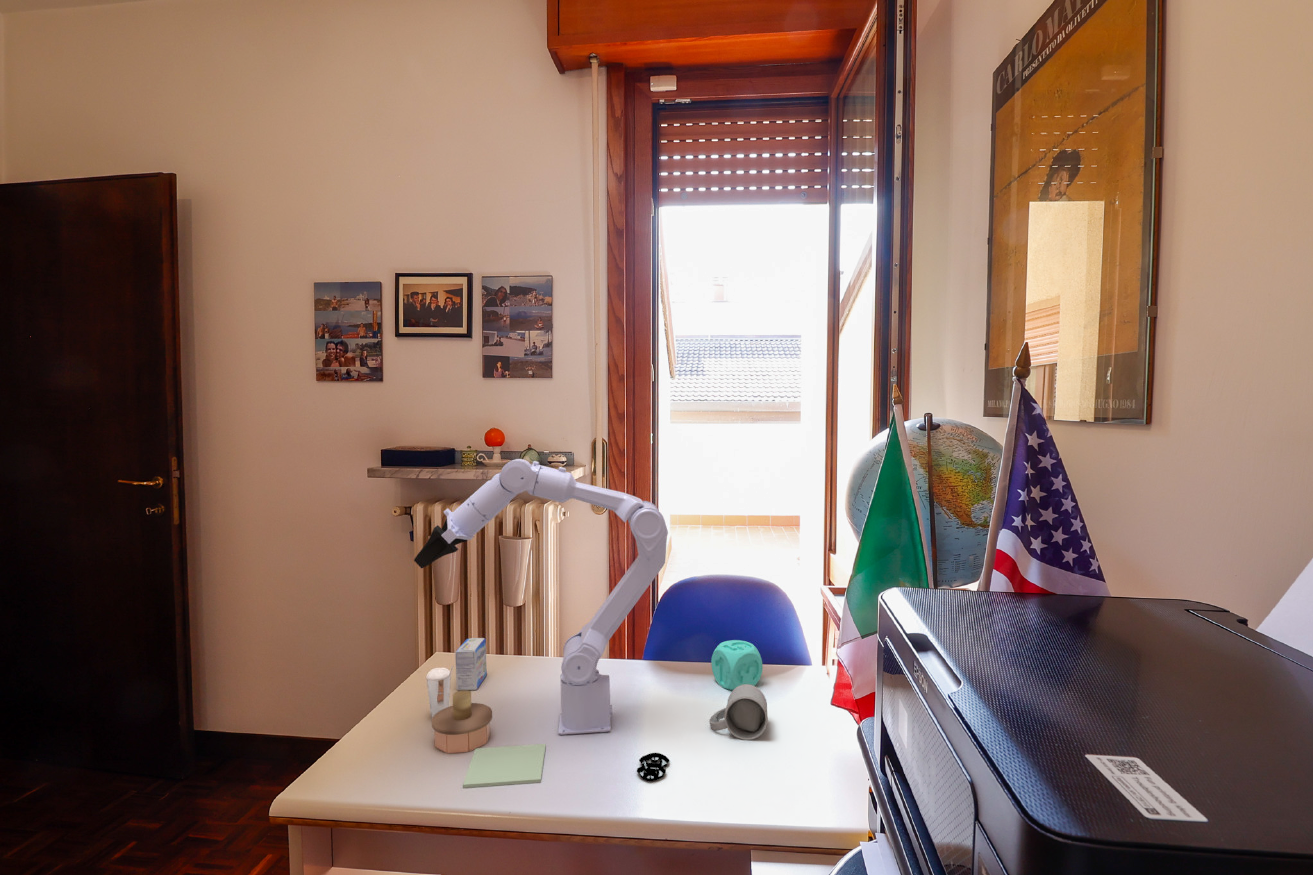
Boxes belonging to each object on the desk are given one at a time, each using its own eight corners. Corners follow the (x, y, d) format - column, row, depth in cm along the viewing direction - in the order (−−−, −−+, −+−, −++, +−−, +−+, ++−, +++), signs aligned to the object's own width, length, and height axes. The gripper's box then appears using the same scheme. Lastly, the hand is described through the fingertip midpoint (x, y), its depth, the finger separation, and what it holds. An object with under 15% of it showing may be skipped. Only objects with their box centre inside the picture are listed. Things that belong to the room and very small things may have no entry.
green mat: (545, 746, 112) (545, 743, 112) (540, 782, 102) (540, 779, 102) (475, 751, 111) (475, 748, 111) (462, 787, 100) (462, 784, 100)
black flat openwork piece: (633, 783, 101) (633, 777, 101) (641, 757, 109) (641, 750, 109) (665, 785, 100) (664, 779, 100) (671, 758, 108) (671, 752, 108)
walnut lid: (496, 705, 121) (495, 680, 121) (487, 732, 111) (486, 705, 111) (439, 708, 120) (438, 683, 120) (425, 736, 110) (424, 708, 110)
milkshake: (448, 722, 122) (446, 670, 122) (422, 720, 123) (421, 668, 123) (460, 711, 127) (458, 661, 126) (435, 709, 128) (434, 659, 127)
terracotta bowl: (492, 725, 120) (491, 707, 120) (484, 750, 111) (483, 730, 111) (443, 728, 120) (442, 710, 119) (431, 754, 111) (430, 734, 110)
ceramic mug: (767, 719, 121) (766, 679, 121) (768, 741, 113) (767, 698, 113) (711, 717, 123) (709, 677, 122) (708, 739, 115) (706, 696, 114)
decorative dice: (711, 680, 139) (710, 644, 139) (741, 672, 143) (740, 637, 143) (732, 694, 132) (731, 656, 132) (763, 686, 136) (763, 648, 136)
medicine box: (476, 690, 136) (475, 650, 136) (455, 691, 136) (454, 650, 136) (487, 675, 144) (486, 637, 144) (467, 675, 144) (466, 637, 144)
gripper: (472, 488, 124) (419, 535, 123) (456, 497, 110) (396, 551, 109) (497, 514, 125) (444, 562, 124) (485, 527, 110) (425, 581, 110)
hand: (423, 559), depth 117 cm, fingers open, 7 cm apart
